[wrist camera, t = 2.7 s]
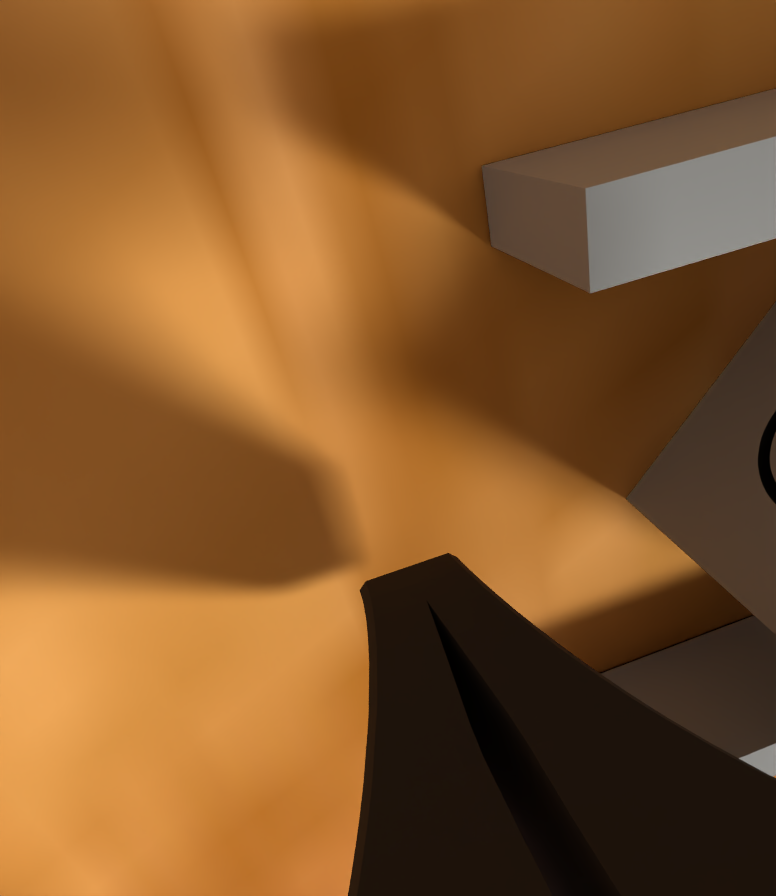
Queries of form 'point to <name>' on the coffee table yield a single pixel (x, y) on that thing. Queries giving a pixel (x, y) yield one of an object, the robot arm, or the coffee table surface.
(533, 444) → the coffee table surface
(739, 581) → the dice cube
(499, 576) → the coffee table surface
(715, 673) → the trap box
